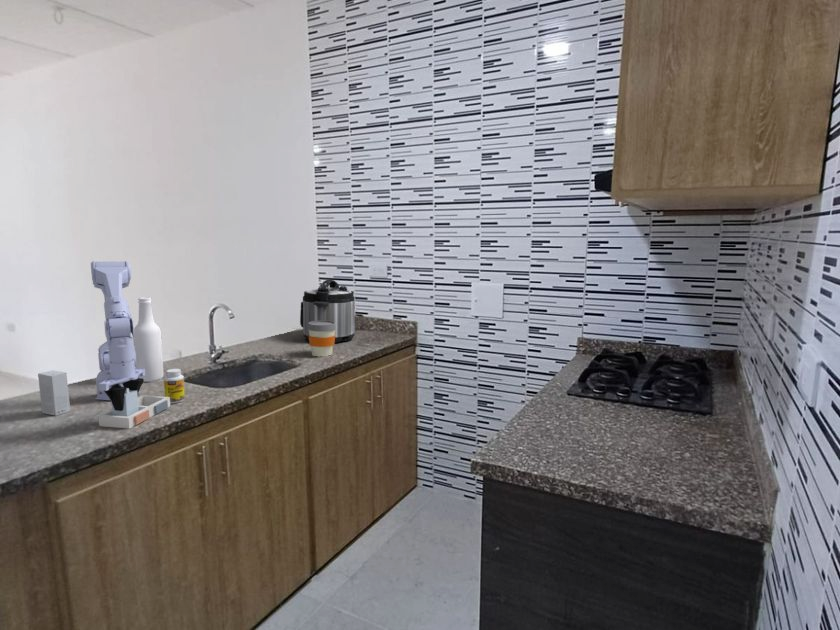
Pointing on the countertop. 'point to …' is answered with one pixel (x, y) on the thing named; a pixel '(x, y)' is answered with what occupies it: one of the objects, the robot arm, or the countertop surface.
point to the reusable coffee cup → (321, 337)
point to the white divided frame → (146, 410)
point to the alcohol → (148, 343)
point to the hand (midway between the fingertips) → (125, 407)
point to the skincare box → (54, 392)
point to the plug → (128, 404)
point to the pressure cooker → (329, 309)
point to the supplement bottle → (174, 386)
